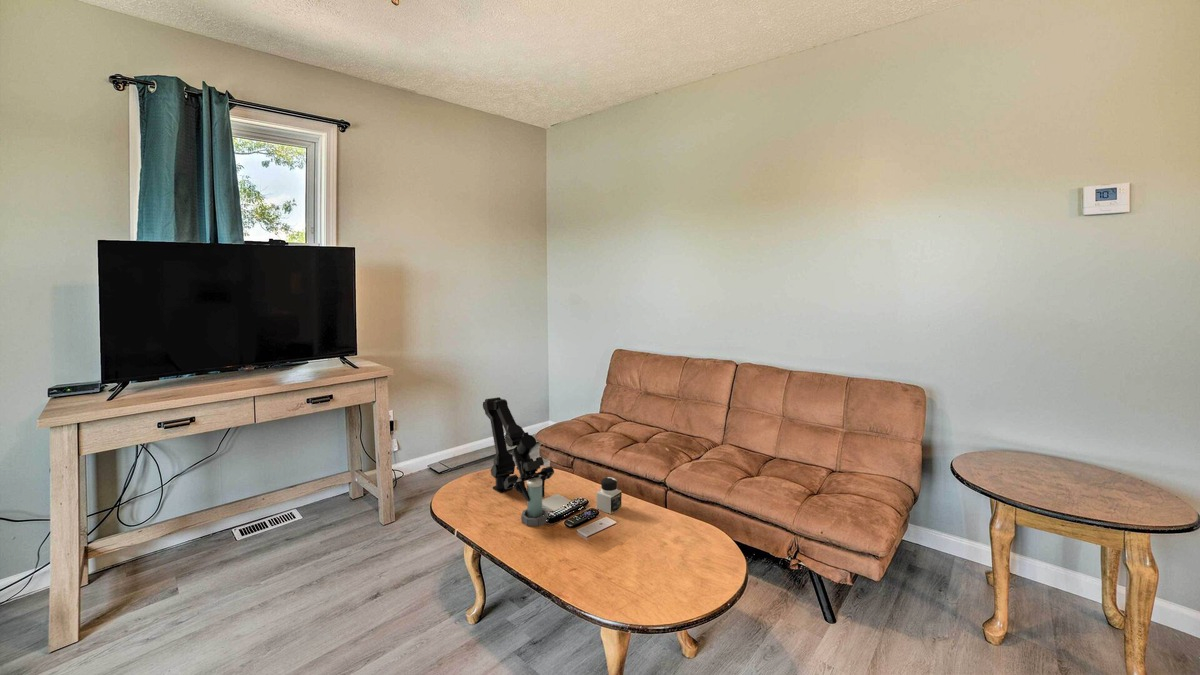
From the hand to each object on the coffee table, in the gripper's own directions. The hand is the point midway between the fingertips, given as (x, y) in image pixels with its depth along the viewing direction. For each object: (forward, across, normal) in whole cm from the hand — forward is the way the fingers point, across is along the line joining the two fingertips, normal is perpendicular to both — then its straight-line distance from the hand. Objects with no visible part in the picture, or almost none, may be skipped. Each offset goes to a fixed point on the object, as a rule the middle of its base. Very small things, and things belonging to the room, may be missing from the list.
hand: (536, 498), depth 179 cm
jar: (+4, 0, +6) cm, 7 cm away
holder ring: (+5, 0, +7) cm, 9 cm away
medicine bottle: (+11, +28, +2) cm, 30 cm away
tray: (+3, +13, +10) cm, 16 cm away
